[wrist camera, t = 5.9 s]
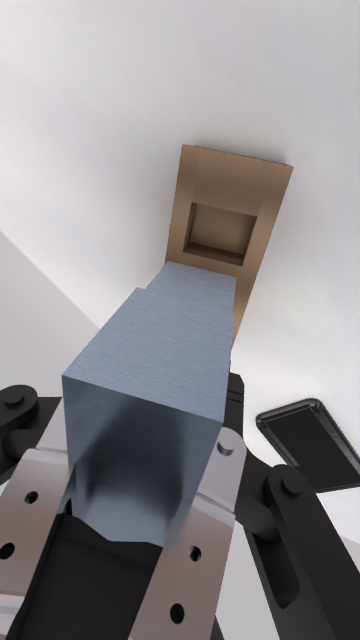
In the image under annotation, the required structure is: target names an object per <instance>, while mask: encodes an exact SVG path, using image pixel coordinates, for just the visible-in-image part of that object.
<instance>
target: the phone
mask: <svg viewBox="0 0 360 640" xmlns="http://www.w3.org/2000/svg"><path fill="white" fill-rule="evenodd" d="M256 426H257V428H258V429H259V430H260V432H261V433H262V434H263V435H264V437H265V438H266V439H267V440H268V441H269V443H270V444H271V445H272V446H273V448H274V449H275V450H276V451H277V452H278V454H279V455H280V456H281V457H282V459H283V460H284V461H285V462H286V463H287V465H289V466H292V467H294V468H295V469H297V470H298V471H300V472H301V473H302V474H303V475H304V476H305V477H306V478H307V480H308V481H309V483H310V484H311V486H312V488H313V490H314V492H315V493H324V492H330V491H336V490H343V489H349V488H355V487H360V458H359V456H358V455H357V453H356V452H355V451H354V449H353V448H352V446H351V445H350V443H349V442H348V440H347V439H346V437H345V436H344V434H343V433H342V432H341V430H340V429H339V427H338V426H337V424H336V423H335V421H334V420H333V418H332V417H331V416H330V414H329V413H328V411H327V410H326V408H325V407H324V405H323V404H322V403H321V402H320V401H319V400H317V399H314V398H309V399H305V400H302V401H299V402H295V403H292V404H289V405H286V406H283V407H280V408H277V409H274V410H271V411H267V412H264V413H261V414H259V415H258V416H257V417H256Z"/></svg>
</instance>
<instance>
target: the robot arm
mask: <svg viewBox="0 0 360 640" xmlns="http://www.w3.org/2000/svg"><path fill="white" fill-rule="evenodd" d="M230 363H231V360H230ZM243 403H244V383H243V381H242V379H241V377H240V375H238V374H234V373H231V372H230V365H229V375H228V384H227V394H226V403H225V413H224V422H223V425H222V428H221V430H220V433H219V435H218V438H217V441H216V443H215V446H214V448H213V451H212V454H211V456H210V459H209V461H208V464H207V467H206V469H205V472H204V474H203V477H202V480H201V482H200V485H199V487H198V490H197V493H196V495H195V498H194V500H193V501H190V500H187V499H184V498H182V501H181V503H180V506H179V508H178V511H177V514H176V516H175V519H174V521H173V524H172V526H171V529H170V532H169V534H168V537H167V539H166V542H165V545H164V547H161V546H158V545H155V544H153V543H150V542H130V541H110V540H107V539H106V538H104V537H103V536H102V535H101V534H99V533H98V532H97V531H95V530H94V529H93V528H92V527H90V526H89V525H88V524H86V523H85V522H84V521H82V520H81V519H80V518H78V502H77V483H76V464H75V463H74V462H71V461H68V453H67V440H66V427H65V414H64V401H63V397H38V396H37V392H36V391H35V389H34V388H32V387H30V386H27V385H14V386H10V387H7V388H5V389H3V390H1V391H0V485H2V484H3V483H5V482H6V481H7V480H9V479H10V480H9V482H8V484H7V485H6V487H5V489H4V491H3V492H2V494H1V496H0V640H224V637H223V635H222V632H221V629H220V627H219V624H218V621H217V618H216V615H215V613H216V609H217V604H218V599H219V594H220V590H221V585H222V580H223V575H224V571H225V566H226V561H227V557H228V552H229V547H230V543H231V538H232V533H233V529H234V523H235V520H236V521H238V522H239V523H240V524H242V525H243V527H244V531H245V534H246V537H247V540H248V544H249V547H250V549H251V553H252V556H253V559H254V562H255V565H256V568H257V571H258V574H259V577H260V580H261V583H262V586H263V589H264V592H265V595H266V598H267V602H268V605H269V608H270V611H271V614H272V617H273V620H274V623H275V626H276V629H277V632H278V635H279V638H280V640H360V573H359V571H358V569H357V567H356V565H355V564H354V562H353V560H352V558H351V556H350V555H349V553H348V551H347V549H346V547H345V546H344V544H343V542H342V540H341V538H340V537H339V535H338V533H337V531H336V529H335V528H334V526H333V524H332V522H331V520H330V519H329V517H328V515H327V513H326V511H325V510H324V508H323V506H322V504H321V502H320V501H319V499H318V497H317V495H316V493H315V492H314V490H313V488H312V486H311V484H310V483H309V481H308V480H307V478H306V477H305V476H304V475H303V474H302V473H301V472H300V471H298V470H297V469H295V468H294V467H292V466H289V465H285V464H279V465H276V466H274V467H271V466H269V465H267V464H266V463H264V462H263V461H261V460H259V459H258V458H257V457H255V456H254V455H253V454H252V453H251V452H250V451H249V449H248V448H247V446H246V444H245V442H244V440H243V409H244V404H243Z"/></svg>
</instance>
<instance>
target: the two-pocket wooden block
mask: <svg viewBox="0 0 360 640" xmlns="http://www.w3.org/2000/svg"><path fill="white" fill-rule="evenodd" d="M293 168H294V167H292V166H289V165H285V164H280V163H276V162H271V161H266V160H261V159H256V158H251V157H246V156H241V155H236V154H231V153H226V152H222V151H217V150H212V149H207V148H202V147H197V146H191V145H182V151H181V158H180V165H179V172H178V178H177V185H176V192H175V198H174V205H173V212H172V219H171V225H170V232H169V239H168V246H167V252H166V259H165V264H166V263H167V262H168V261H170V262H174V263H178V264H183V265H187V266H191V267H195V268H199V269H203V270H207V271H211V272H216V273H220V274H224V275H228V276H232V277H236V278H237V279H236V287H235V295H234V303H233V311H232V312H235V318H234V327H233V337H232V346H233V343H234V341H235V338H236V335H237V332H238V329H239V326H240V323H241V320H242V317H243V314H244V311H245V308H246V305H247V302H248V300H249V297H250V294H251V291H252V288H253V285H254V282H255V279H256V276H257V273H258V270H259V267H260V264H261V261H262V259H263V256H264V253H265V250H266V247H267V244H268V241H269V238H270V235H271V232H272V229H273V226H274V223H275V220H276V218H277V215H278V212H279V209H280V206H281V203H282V200H283V197H284V194H285V191H286V188H287V185H288V182H289V179H290V177H291V174H292V171H293ZM232 346H231V349H232Z"/></svg>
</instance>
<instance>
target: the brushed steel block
mask: <svg viewBox="0 0 360 640" xmlns="http://www.w3.org/2000/svg"><path fill="white" fill-rule="evenodd" d="M236 279H237V278H236V277H232V276H228V275H224V274H220V273H216V272H211V271H207V270H203V269H199V268H195V267H191V266H187V265H183V264H178V263H174V262H170V261H168V262H167V263H166V264H165V265H164V267H163V268H162V269H161V270H160V272H159V273H158V274H157V275H156V277H155V278H154V279H153V281H152V282H151V283H150V284H149V286H148V287H147V288H146V289H141V288H136V289H135V290H134V292H133V293H132V294H131V295H130V296H129V297H128V298H127V300H126V301H125V302H124V303H123V304H122V305H121V307H120V308H119V309H118V310H117V311H116V312H115V314H114V315H113V316H112V317H111V318H110V319H109V320H108V322H107V323H106V324H105V325H104V326H103V327H102V329H101V330H100V331H99V332H98V333H97V335H96V336H95V337H94V338H93V339H92V340H91V341H90V342H89V344H88V345H87V346H86V347H85V348H84V349H83V351H82V352H81V353H80V354H79V355H78V356H77V358H76V359H75V360H74V361H73V362H72V363H71V365H70V366H69V367H68V368H67V369H66V370H65V371H64V373H63V374H62V387H63V401H64V414H65V427H66V440H67V453H68V461H71V462H74V463H75V464H76V483H77V502H78V518H80V519H81V520H82V521H84V522H85V523H86V524H88V525H89V526H90V527H92V528H93V529H94V530H95V531H97V532H98V533H99V534H101V535H102V536H103V537H104V538H106V539H107V540H110V541H130V542H150V543H153V544H155V545H158V546H161V547H164V545H165V542H166V539H167V537H168V534H169V532H170V529H171V526H172V524H173V521H174V519H175V516H176V514H177V511H178V508H179V506H180V503H181V501H182V498H184V499H187V500H190V501H193V500H194V498H195V495H196V493H197V490H198V487H199V485H200V482H201V480H202V477H203V474H204V472H205V469H206V467H207V464H208V461H209V459H210V456H211V454H212V451H213V448H214V446H215V443H216V441H217V438H218V435H219V433H220V430H221V428H222V425H223V422H224V413H225V403H226V394H227V384H228V375H229V365H230V356H231V346H232V337H233V327H234V318H235V312H232V311H233V303H234V295H235V287H236Z"/></svg>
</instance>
